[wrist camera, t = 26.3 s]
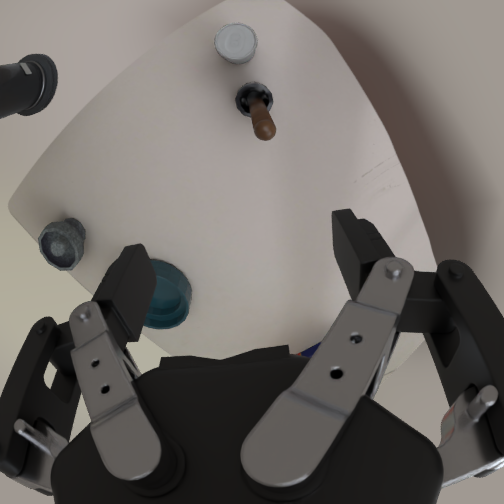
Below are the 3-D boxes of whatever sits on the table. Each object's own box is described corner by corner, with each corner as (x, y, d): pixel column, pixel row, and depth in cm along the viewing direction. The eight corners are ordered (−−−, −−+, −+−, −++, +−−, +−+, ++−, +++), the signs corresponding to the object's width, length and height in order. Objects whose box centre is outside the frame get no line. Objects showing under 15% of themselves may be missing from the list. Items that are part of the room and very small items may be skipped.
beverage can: (219, 61, 38) (209, 57, 28) (225, 32, 35) (218, 18, 25) (251, 66, 38) (253, 63, 28) (258, 37, 35) (261, 25, 25)
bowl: (139, 315, 66) (134, 331, 62) (112, 263, 57) (104, 278, 53) (200, 309, 65) (198, 326, 60) (179, 252, 56) (174, 268, 52)
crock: (240, 112, 42) (239, 120, 36) (235, 84, 40) (232, 86, 33) (270, 108, 42) (275, 115, 35) (265, 79, 39) (269, 80, 33)
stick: (248, 104, 41) (256, 145, 26) (246, 91, 40) (252, 124, 24) (261, 102, 41) (278, 141, 25) (259, 89, 40) (275, 120, 24)
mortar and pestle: (78, 258, 57) (54, 295, 47) (48, 230, 53) (19, 263, 43) (104, 229, 53) (78, 265, 43) (71, 196, 49) (39, 228, 39)
